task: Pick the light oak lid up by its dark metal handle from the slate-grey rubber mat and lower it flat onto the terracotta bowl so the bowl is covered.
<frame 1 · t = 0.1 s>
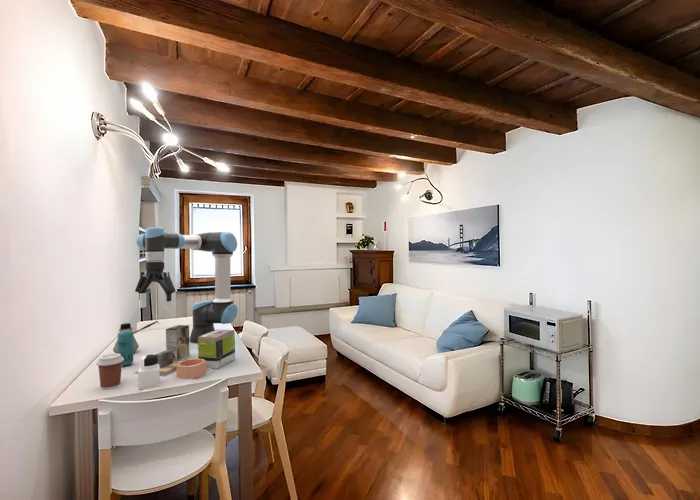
hand: (155, 308, 157), 28 cm above the table, tool pointing down, fingers open, 13 cm apart
coffee cup: (110, 386, 138), on the table
mat: (164, 369, 156), on the table
coffee box: (178, 359, 171), on the table
coffee pot: (136, 351, 185), on the table
beverage bottle: (125, 366, 161), on the table
bowl: (191, 375, 149), on the table
lid: (164, 368, 156), point 1 cm above the table, touching mat
tea box: (217, 364, 164), on the table
medicine bottle: (149, 386, 137), on the table
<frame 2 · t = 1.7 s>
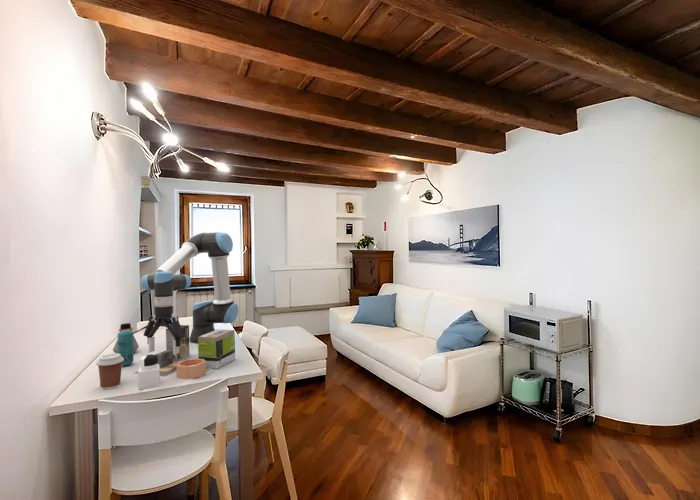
hand: (163, 352, 156), 8 cm above the table, tool pointing down, fingers open, 13 cm apart
nothing on the table moved.
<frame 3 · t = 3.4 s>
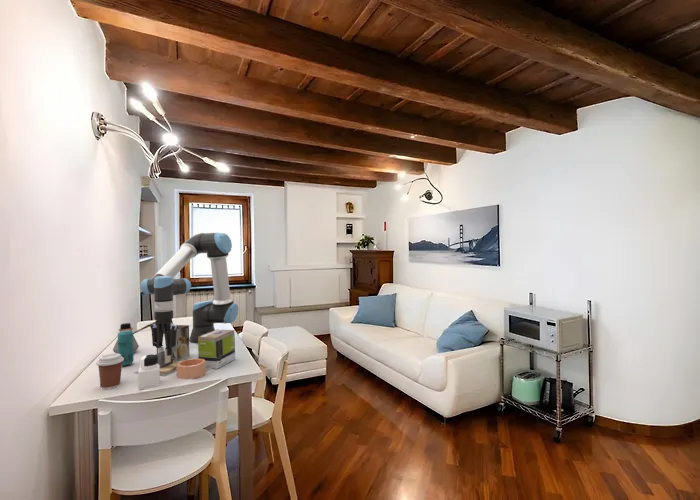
hand: (164, 362, 156), 3 cm above the table, tool pointing down, fingers closed on lid, 3 cm apart
lid: (164, 368, 156), point 1 cm above the table, touching gripper, mat
everything else where it was.
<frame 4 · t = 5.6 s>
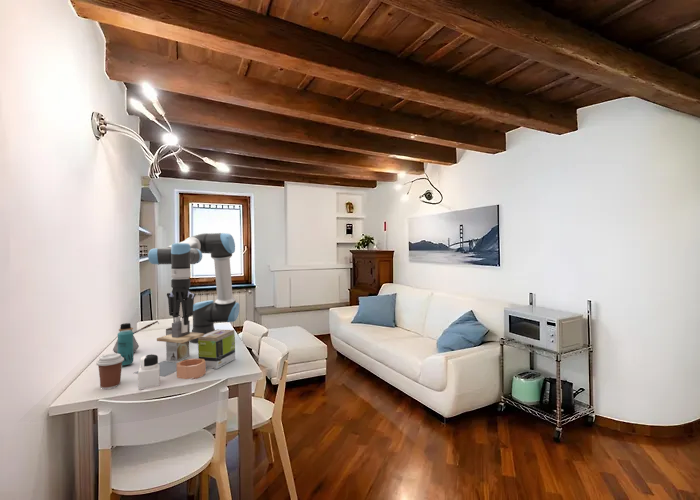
hand: (181, 332, 151), 18 cm above the table, tool pointing down, fingers closed on lid, 3 cm apart
lid: (180, 338, 151), point 15 cm above the table, touching gripper
everything else where it was.
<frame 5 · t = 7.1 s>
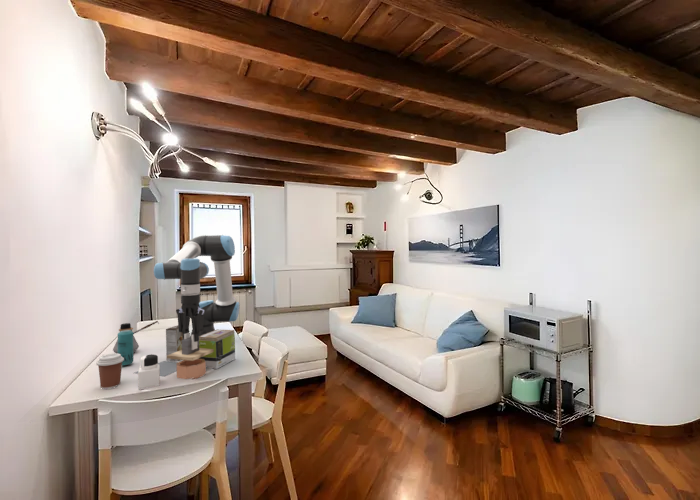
hand: (190, 348, 149), 12 cm above the table, tool pointing down, fingers closed on lid, 3 cm apart
lid: (190, 354, 149), point 9 cm above the table, touching gripper
everything else where it was.
when the fingers open (10 cm above the table, at t = 8.0 s): lid drops 1 cm, resting on bowl.
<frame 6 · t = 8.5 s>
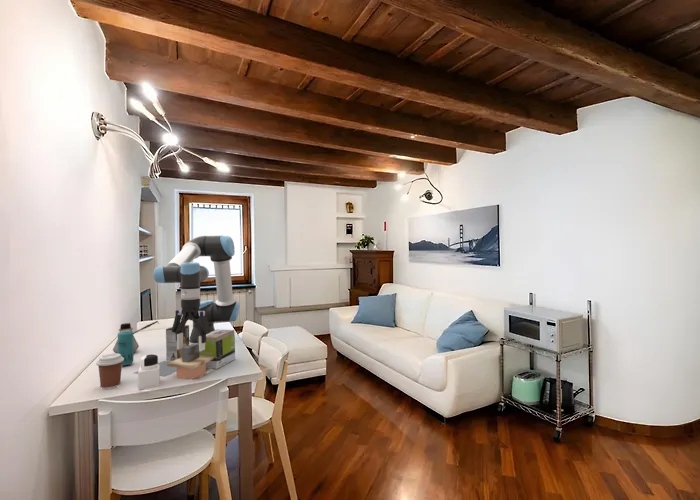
hand: (190, 349, 149), 11 cm above the table, tool pointing down, fingers open, 10 cm apart
lid: (191, 362, 149), point 5 cm above the table, touching bowl
everything else where it was.
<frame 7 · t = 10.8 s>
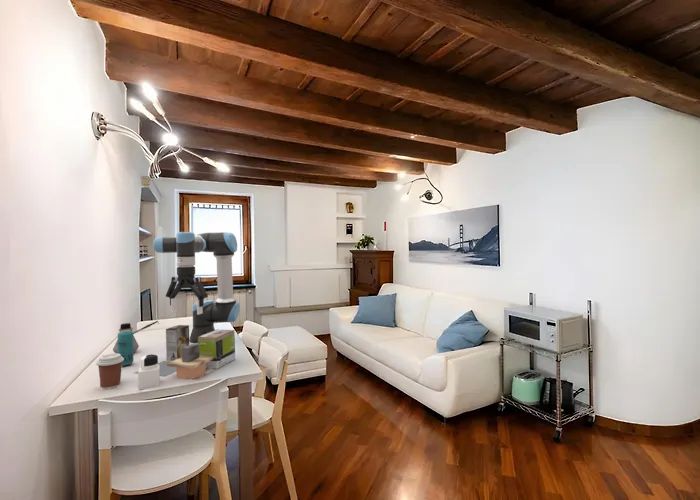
hand: (186, 313, 156), 25 cm above the table, tool pointing down, fingers open, 13 cm apart
nothing on the table moved.
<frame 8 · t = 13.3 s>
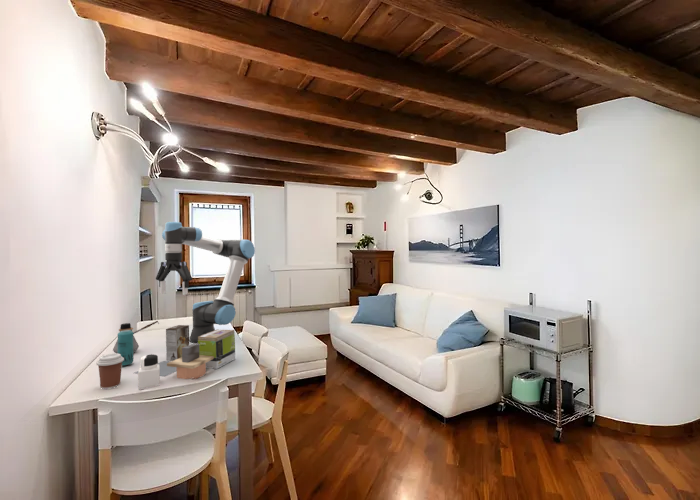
hand: (173, 294, 175), 32 cm above the table, tool pointing down, fingers open, 13 cm apart
nothing on the table moved.
at the end: lid 0.0 cm off-centre on the bowl, point 5.5 cm above the bowl's base; lid tilted 0°; the gripper is holding nothing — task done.
